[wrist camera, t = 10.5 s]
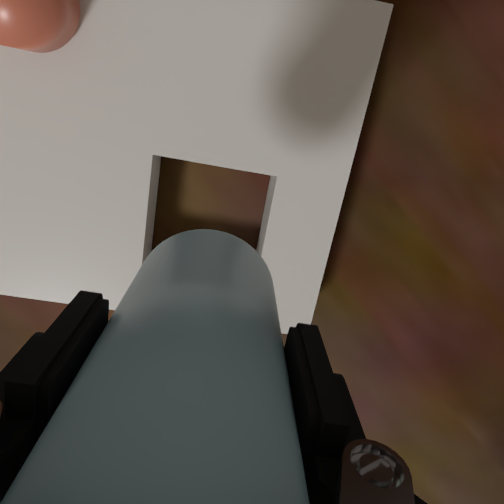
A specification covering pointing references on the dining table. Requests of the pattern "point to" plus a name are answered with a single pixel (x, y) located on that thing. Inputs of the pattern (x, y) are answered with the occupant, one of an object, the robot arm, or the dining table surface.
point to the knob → (38, 23)
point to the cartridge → (178, 392)
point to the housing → (181, 134)
